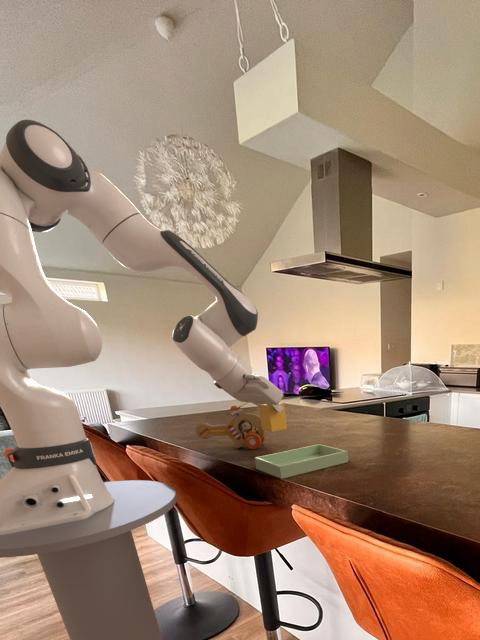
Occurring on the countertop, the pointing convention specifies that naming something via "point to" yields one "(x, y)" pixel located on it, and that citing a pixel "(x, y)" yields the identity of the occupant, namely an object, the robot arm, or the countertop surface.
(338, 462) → the tray
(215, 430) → the toy helicopter
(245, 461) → the countertop surface
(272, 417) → the yellow block with ball
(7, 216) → the robot arm
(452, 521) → the countertop surface
